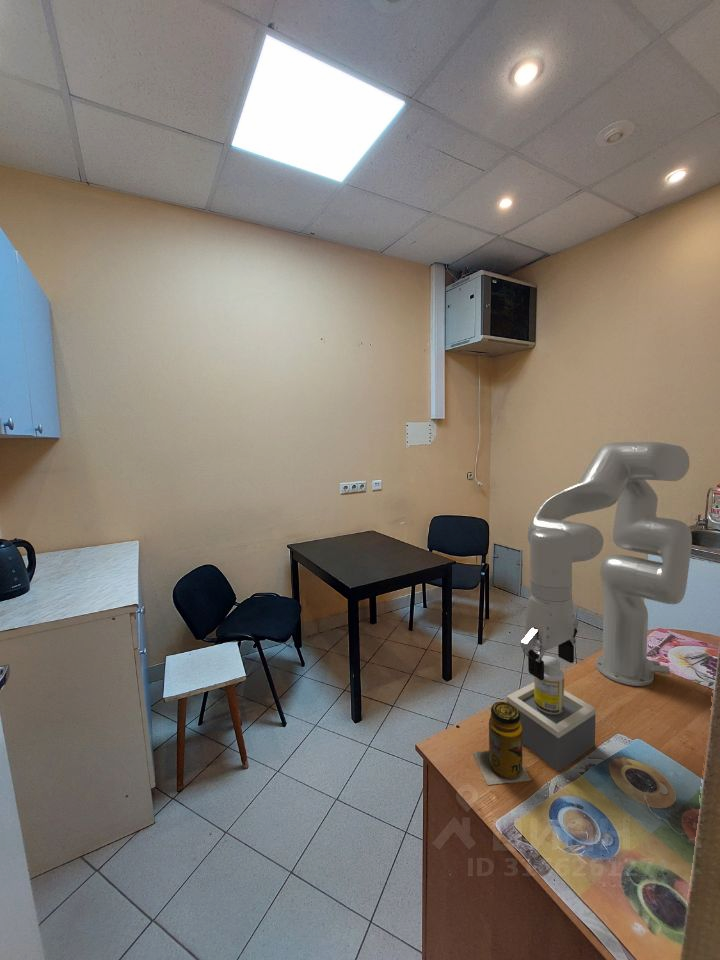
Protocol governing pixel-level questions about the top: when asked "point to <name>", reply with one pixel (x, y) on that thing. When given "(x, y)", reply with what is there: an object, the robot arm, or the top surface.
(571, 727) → the stand
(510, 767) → the condiment
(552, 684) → the supplement bottle
